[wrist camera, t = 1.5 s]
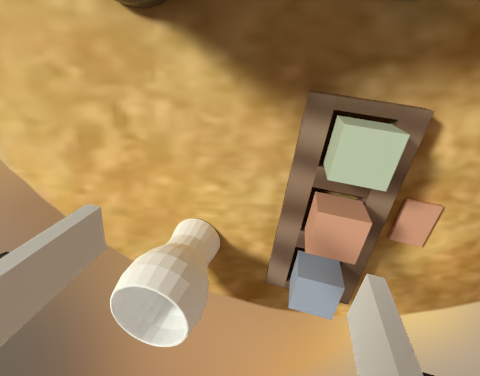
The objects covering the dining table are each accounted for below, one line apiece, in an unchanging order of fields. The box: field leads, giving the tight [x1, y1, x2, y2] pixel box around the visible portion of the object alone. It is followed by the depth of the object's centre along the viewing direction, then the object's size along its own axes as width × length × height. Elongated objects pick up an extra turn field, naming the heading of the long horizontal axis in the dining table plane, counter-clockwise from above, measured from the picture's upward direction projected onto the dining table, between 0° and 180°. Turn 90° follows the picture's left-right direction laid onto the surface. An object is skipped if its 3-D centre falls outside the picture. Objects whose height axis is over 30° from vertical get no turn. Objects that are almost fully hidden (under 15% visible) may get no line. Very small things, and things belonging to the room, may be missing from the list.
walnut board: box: [265, 90, 435, 304], centre depth 33 cm, size 27×12×3 cm, turn 172°
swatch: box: [388, 198, 443, 247], centre depth 32 cm, size 6×4×1 cm, turn 172°
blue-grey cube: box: [288, 250, 345, 320], centre depth 33 cm, size 5×5×5 cm
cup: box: [110, 218, 220, 347], centre depth 35 cm, size 11×11×15 cm
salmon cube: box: [305, 191, 372, 265], centre depth 29 cm, size 5×5×5 cm
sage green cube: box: [324, 115, 410, 191], centre depth 25 cm, size 5×5×5 cm
